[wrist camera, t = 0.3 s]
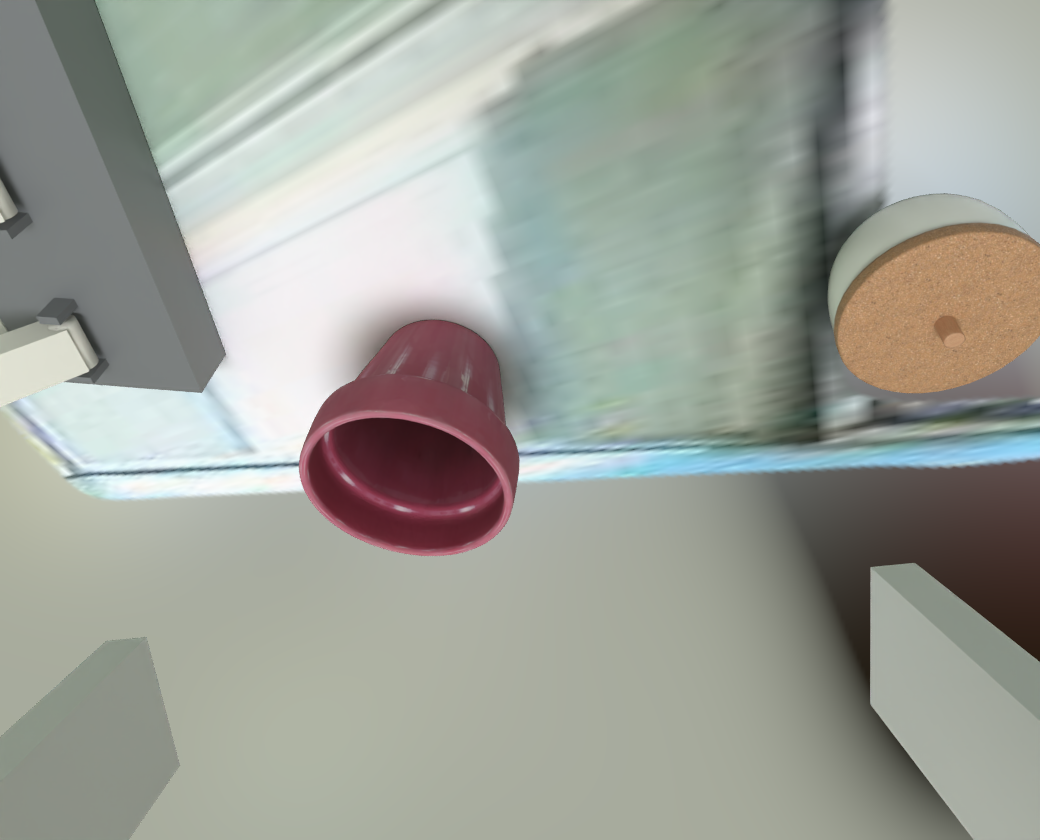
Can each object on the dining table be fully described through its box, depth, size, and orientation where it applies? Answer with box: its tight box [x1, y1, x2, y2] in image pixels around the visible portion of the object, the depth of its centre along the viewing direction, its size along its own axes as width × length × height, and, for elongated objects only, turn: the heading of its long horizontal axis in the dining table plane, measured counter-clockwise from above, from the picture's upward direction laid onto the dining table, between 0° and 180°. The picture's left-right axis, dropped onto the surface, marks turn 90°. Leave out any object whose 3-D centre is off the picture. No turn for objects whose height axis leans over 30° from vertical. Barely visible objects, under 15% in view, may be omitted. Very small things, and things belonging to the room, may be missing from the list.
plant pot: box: [299, 320, 519, 556], centre depth 49 cm, size 14×14×13 cm
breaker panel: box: [0, 0, 226, 393], centre depth 41 cm, size 14×33×7 cm, turn 179°
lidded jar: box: [828, 193, 1040, 393], centre depth 40 cm, size 11×11×9 cm
